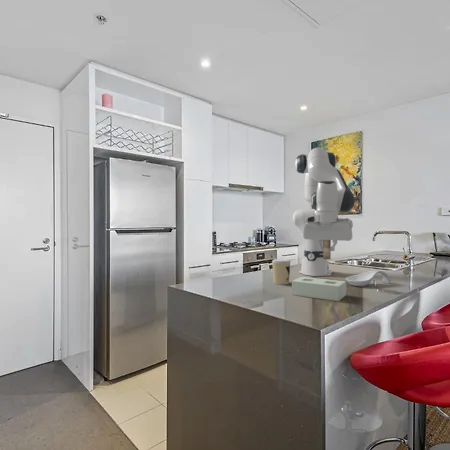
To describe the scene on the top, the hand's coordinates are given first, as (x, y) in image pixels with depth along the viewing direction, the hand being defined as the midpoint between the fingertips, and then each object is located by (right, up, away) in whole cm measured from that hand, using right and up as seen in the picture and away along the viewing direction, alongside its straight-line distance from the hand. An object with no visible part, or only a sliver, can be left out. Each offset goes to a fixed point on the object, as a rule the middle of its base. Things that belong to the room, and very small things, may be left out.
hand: (327, 250), depth 134 cm
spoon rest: (+28, -19, +23) cm, 42 cm away
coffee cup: (-15, -19, +28) cm, 37 cm away
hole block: (-3, -20, +3) cm, 20 cm away
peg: (0, -4, 0) cm, 4 cm away
